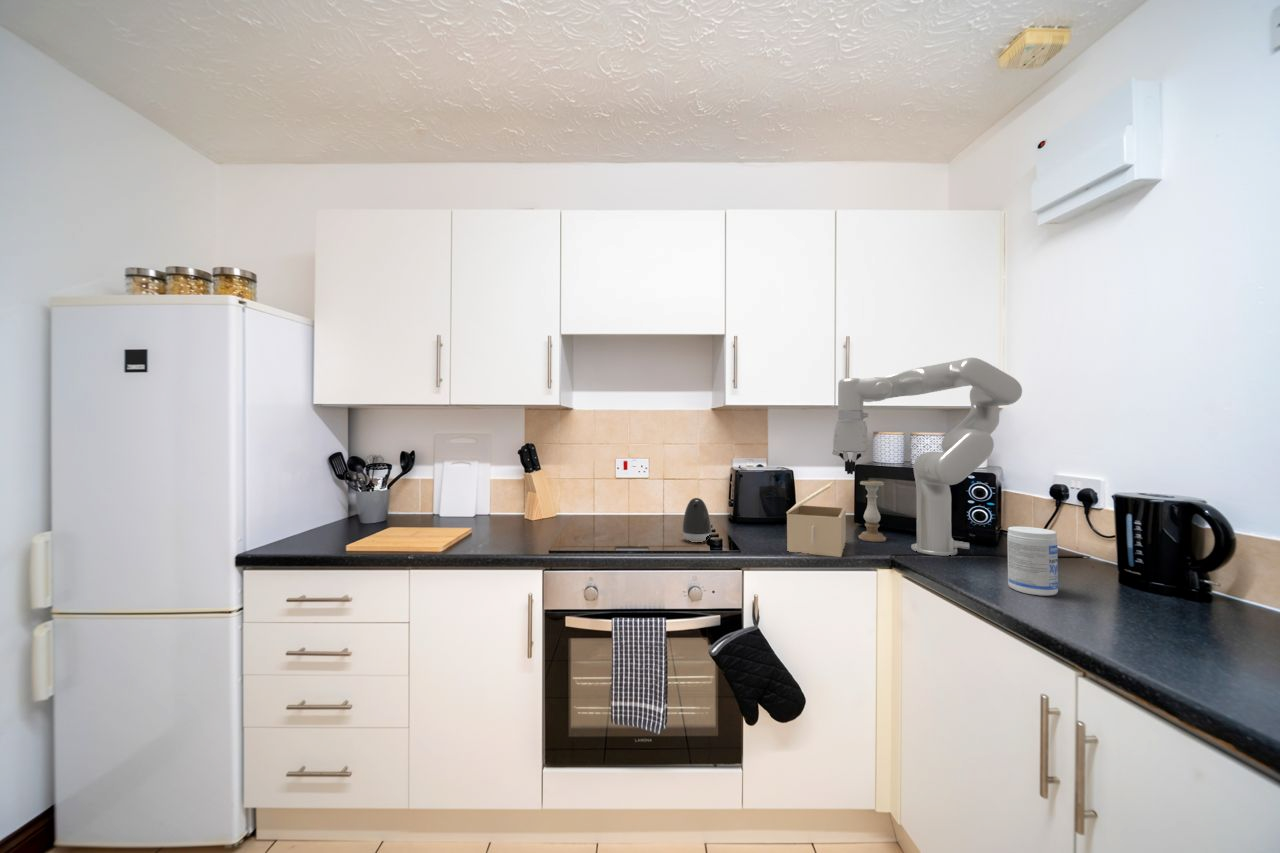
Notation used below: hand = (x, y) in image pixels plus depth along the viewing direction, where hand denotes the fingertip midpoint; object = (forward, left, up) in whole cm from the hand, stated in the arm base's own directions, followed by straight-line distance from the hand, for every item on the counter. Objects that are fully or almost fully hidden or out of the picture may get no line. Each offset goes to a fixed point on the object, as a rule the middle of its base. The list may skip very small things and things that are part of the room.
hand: (850, 473), depth 159 cm
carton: (+10, +2, -25) cm, 27 cm away
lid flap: (+12, 0, -8) cm, 14 cm away
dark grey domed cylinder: (+49, +9, -25) cm, 56 cm away
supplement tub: (-42, +23, -25) cm, 54 cm away
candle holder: (-6, -20, -25) cm, 33 cm away
